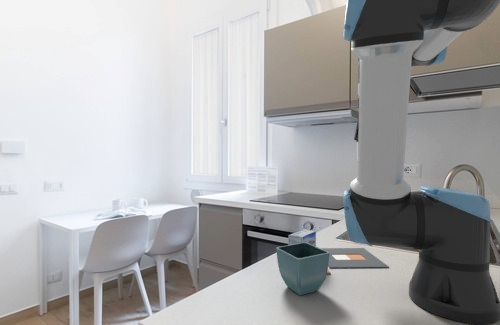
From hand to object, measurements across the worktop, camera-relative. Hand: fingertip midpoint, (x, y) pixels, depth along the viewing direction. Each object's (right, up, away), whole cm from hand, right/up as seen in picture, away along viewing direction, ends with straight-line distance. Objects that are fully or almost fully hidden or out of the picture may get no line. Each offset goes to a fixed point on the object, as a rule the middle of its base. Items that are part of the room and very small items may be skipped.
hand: (369, 160), depth 96 cm
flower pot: (-28, -29, -31) cm, 51 cm away
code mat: (-11, -29, -11) cm, 33 cm away
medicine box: (-26, -29, -17) cm, 42 cm away
